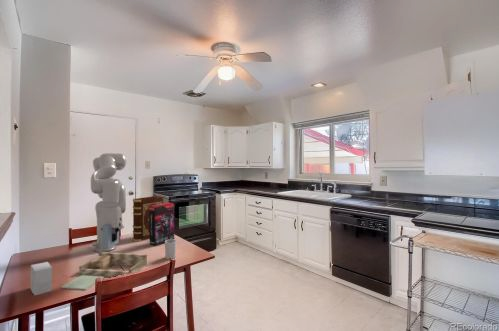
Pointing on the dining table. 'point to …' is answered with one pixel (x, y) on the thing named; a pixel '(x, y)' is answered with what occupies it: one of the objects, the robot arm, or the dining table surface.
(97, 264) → the offcut upper
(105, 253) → the mottled brown tray
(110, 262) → the offcut lower
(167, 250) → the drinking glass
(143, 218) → the decorative book
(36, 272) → the skincare box
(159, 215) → the graphics card box
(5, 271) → the dining table surface
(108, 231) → the blue gray rectangular block
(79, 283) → the mat
